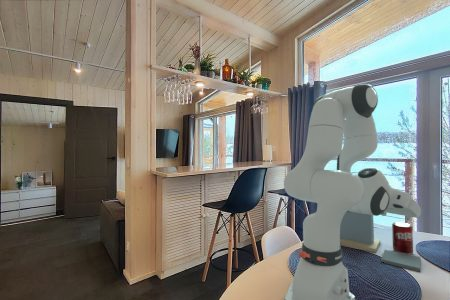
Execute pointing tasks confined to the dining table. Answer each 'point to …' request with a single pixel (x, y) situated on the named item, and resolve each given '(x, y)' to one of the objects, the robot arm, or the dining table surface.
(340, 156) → the robot arm
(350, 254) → the dining table surface
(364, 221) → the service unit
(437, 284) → the dining table surface
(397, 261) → the pad
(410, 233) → the soda can
